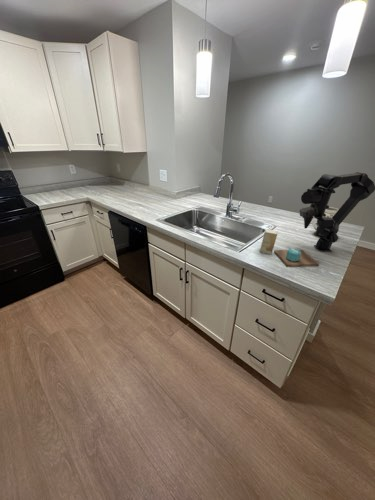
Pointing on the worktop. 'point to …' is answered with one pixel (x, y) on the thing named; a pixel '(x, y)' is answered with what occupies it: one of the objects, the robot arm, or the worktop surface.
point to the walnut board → (303, 261)
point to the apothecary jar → (327, 215)
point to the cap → (293, 254)
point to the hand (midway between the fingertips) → (310, 231)
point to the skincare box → (268, 241)
